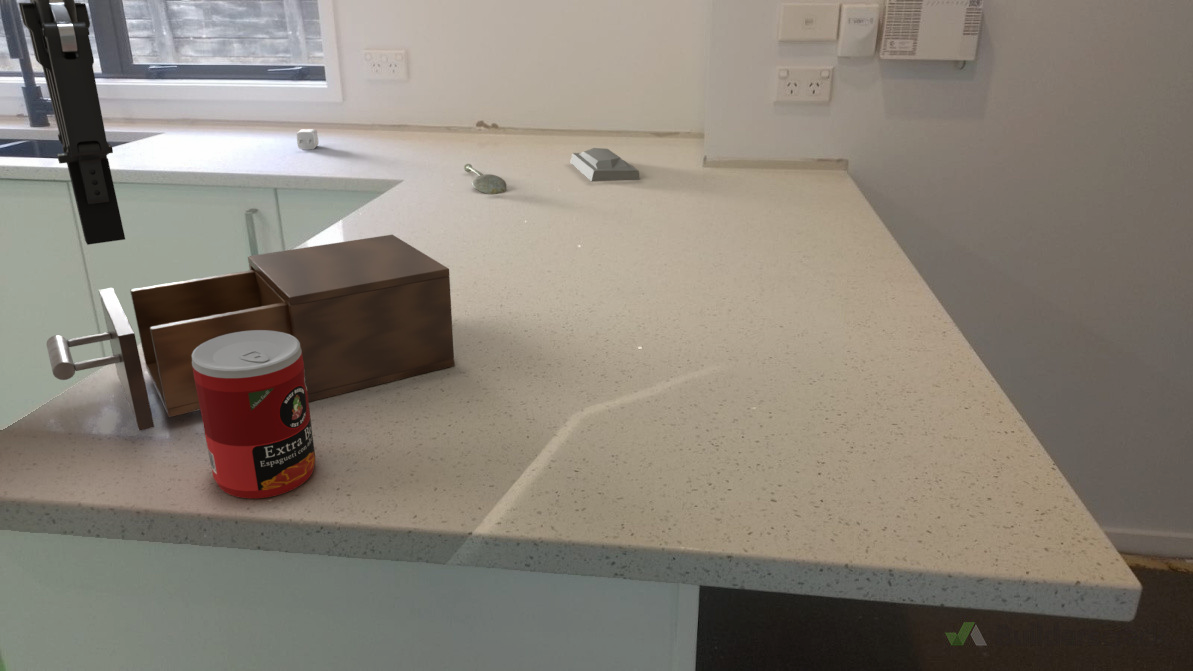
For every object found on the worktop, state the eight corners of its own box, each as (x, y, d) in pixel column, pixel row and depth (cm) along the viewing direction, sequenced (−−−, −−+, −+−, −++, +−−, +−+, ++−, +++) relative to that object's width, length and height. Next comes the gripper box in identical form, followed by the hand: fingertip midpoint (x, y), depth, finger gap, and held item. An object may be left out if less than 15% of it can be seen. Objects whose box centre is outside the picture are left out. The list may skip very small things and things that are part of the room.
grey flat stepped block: (591, 181, 171) (591, 164, 169) (569, 162, 189) (570, 146, 187) (639, 179, 173) (640, 162, 172) (613, 160, 191) (614, 145, 190)
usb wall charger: (318, 145, 203) (316, 129, 201) (313, 151, 197) (311, 133, 195) (301, 145, 202) (299, 129, 201) (295, 151, 196) (293, 133, 195)
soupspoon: (476, 198, 158) (510, 198, 160) (476, 181, 157) (510, 180, 159) (453, 171, 177) (483, 171, 179) (453, 155, 175) (483, 155, 178)
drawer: (71, 447, 69) (46, 349, 66) (57, 387, 79) (35, 299, 76) (309, 390, 79) (298, 303, 76) (270, 343, 89) (258, 264, 86)
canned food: (274, 510, 63) (253, 377, 59) (190, 488, 65) (164, 359, 61) (337, 460, 69) (322, 338, 65) (259, 442, 72) (240, 323, 68)
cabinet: (303, 403, 79) (289, 297, 75) (261, 351, 90) (247, 256, 86) (454, 366, 87) (449, 268, 83) (399, 322, 98) (392, 234, 94)
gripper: (105, -90, 56) (172, 251, 65) (81, -79, 65) (142, 216, 75) (-33, -97, 52) (59, 268, 61) (-36, -84, 61) (44, 229, 71)
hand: (105, 239), depth 68 cm, fingers closed
